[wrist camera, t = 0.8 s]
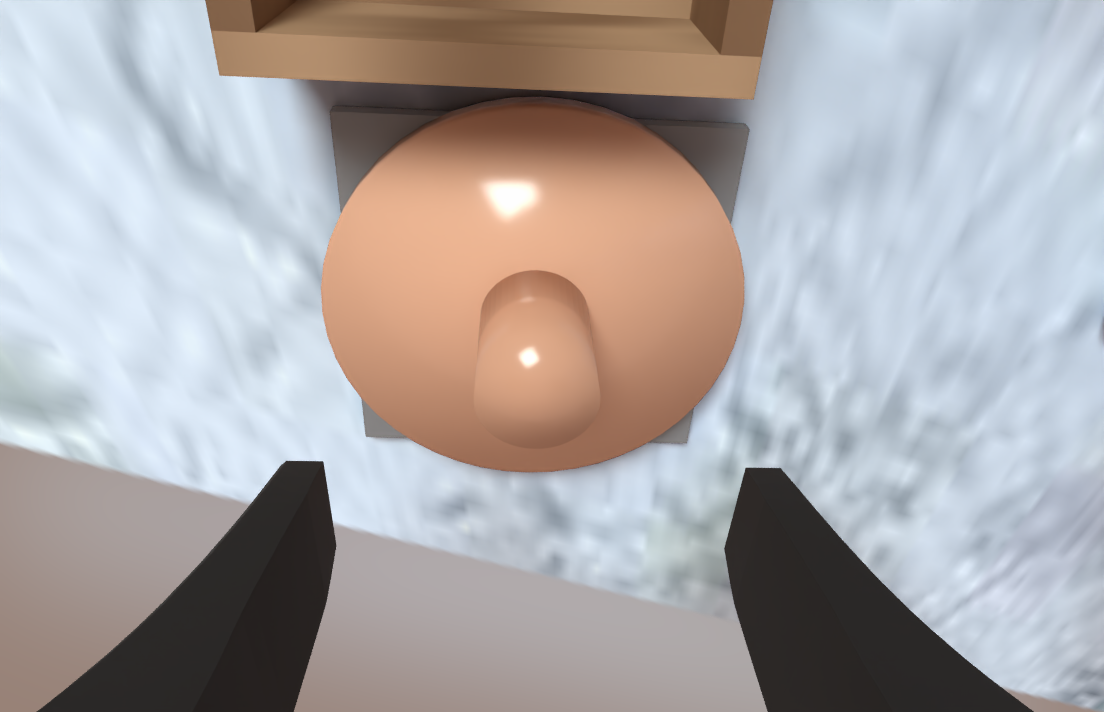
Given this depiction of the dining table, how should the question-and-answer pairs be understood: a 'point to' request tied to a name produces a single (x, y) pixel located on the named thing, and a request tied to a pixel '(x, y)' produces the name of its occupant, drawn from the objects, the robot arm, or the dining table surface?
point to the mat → (378, 129)
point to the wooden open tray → (500, 43)
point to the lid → (532, 285)
